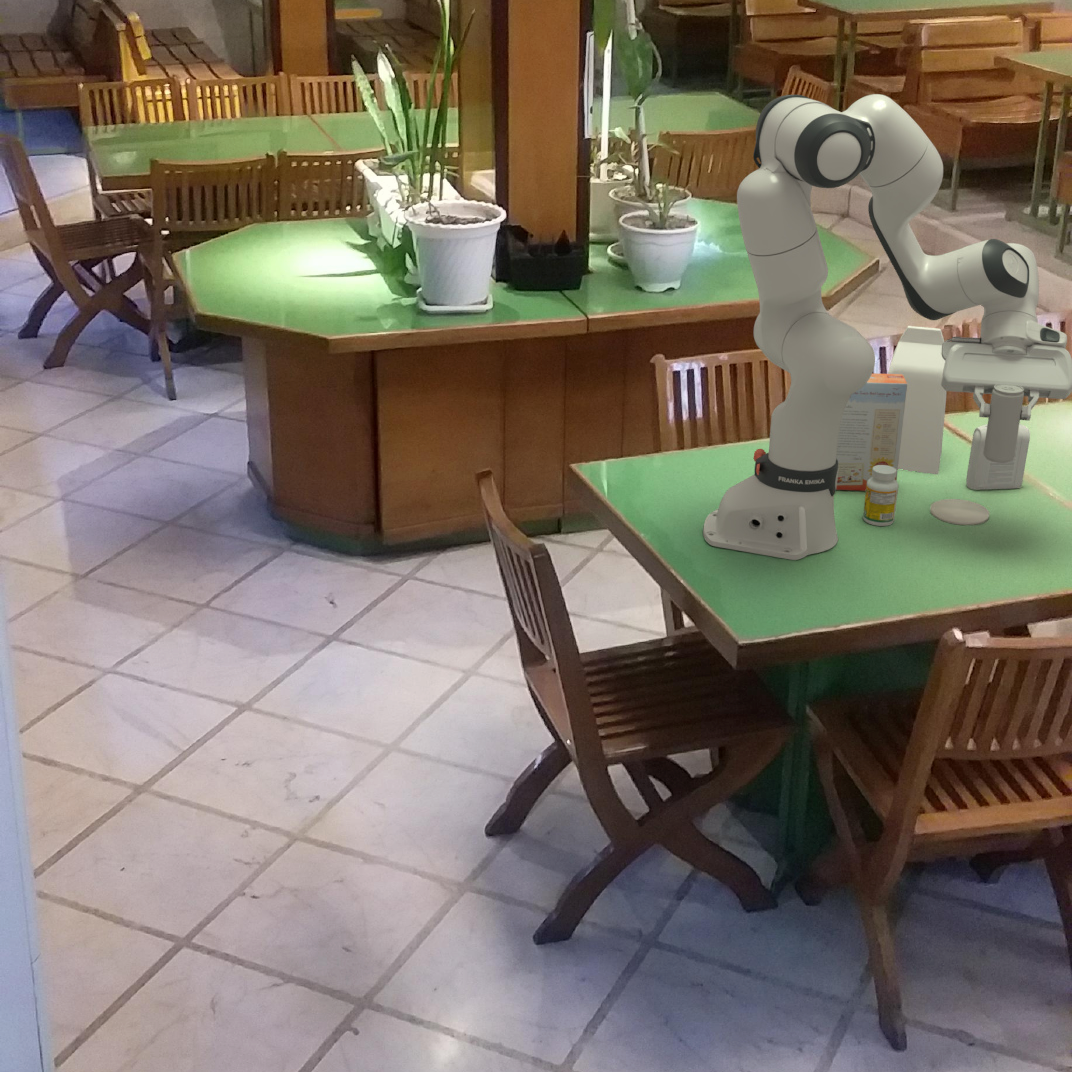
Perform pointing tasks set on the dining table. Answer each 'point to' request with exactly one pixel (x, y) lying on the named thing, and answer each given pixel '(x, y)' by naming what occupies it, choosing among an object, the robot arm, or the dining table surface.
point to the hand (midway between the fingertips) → (1004, 417)
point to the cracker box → (871, 430)
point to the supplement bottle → (881, 496)
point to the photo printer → (996, 463)
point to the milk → (921, 398)
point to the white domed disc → (959, 512)
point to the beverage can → (1003, 423)
